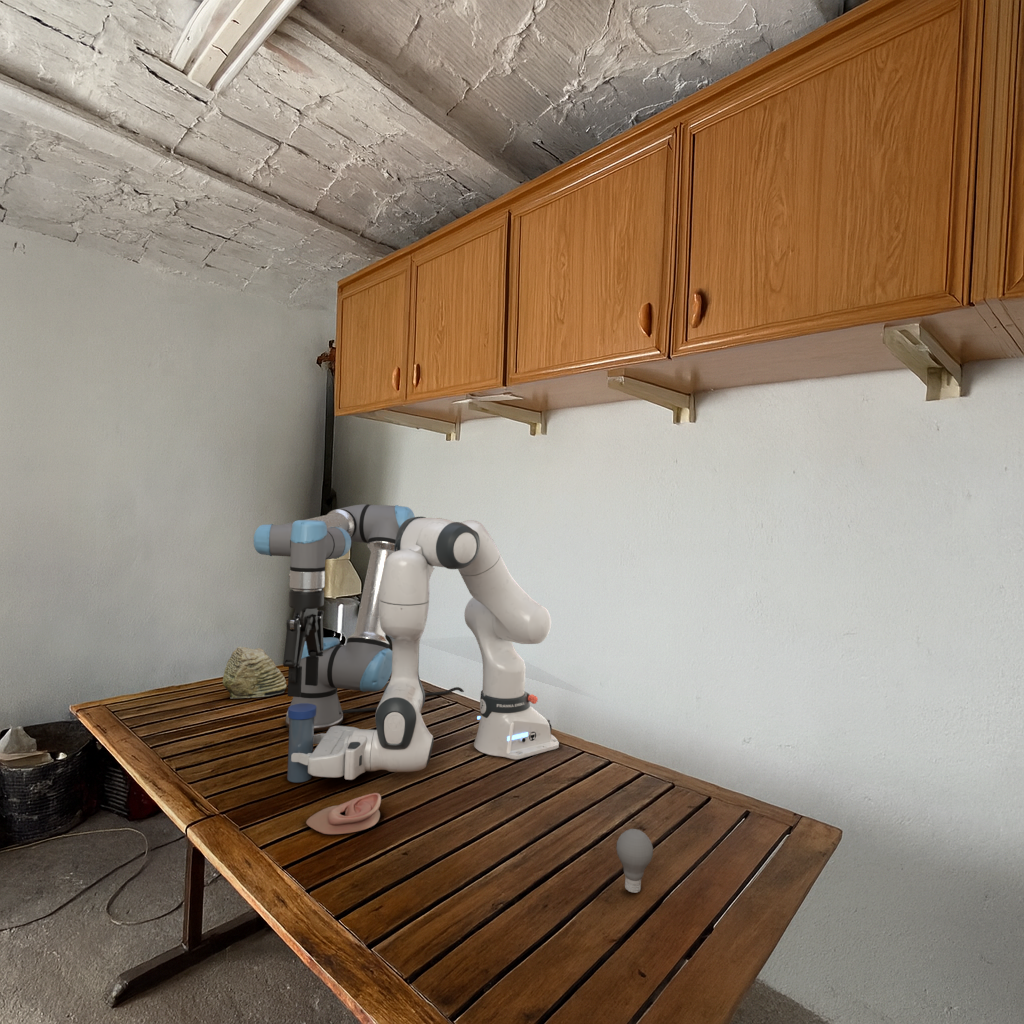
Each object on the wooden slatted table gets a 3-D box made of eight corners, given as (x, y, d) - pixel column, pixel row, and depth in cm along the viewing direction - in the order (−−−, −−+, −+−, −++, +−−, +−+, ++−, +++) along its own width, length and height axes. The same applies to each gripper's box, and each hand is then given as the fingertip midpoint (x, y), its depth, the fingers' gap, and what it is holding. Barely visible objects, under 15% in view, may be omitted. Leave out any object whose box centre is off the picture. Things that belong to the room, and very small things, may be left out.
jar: (294, 784, 139) (297, 715, 138) (282, 776, 142) (285, 709, 142) (316, 777, 143) (319, 709, 142) (304, 770, 146) (307, 704, 146)
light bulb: (610, 879, 108) (613, 822, 108) (644, 879, 109) (647, 822, 109) (619, 902, 102) (622, 840, 102) (655, 901, 103) (658, 840, 103)
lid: (296, 721, 138) (296, 713, 138) (282, 714, 142) (283, 706, 142) (321, 715, 142) (321, 708, 142) (307, 708, 146) (307, 701, 146)
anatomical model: (298, 809, 120) (327, 783, 131) (297, 830, 120) (327, 802, 131) (363, 819, 117) (388, 791, 128) (362, 840, 117) (387, 811, 128)
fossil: (218, 695, 195) (220, 647, 195) (278, 685, 208) (279, 640, 207) (228, 703, 189) (230, 653, 188) (289, 692, 201) (290, 645, 201)
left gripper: (311, 582, 152) (307, 676, 153) (267, 594, 132) (263, 703, 132) (341, 584, 151) (337, 679, 152) (302, 597, 131) (297, 706, 131)
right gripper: (369, 720, 153) (312, 718, 153) (351, 753, 133) (284, 751, 132) (368, 745, 153) (311, 744, 153) (350, 783, 133) (283, 781, 132)
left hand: (303, 690), depth 142 cm, fingers open, 8 cm apart
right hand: (298, 748), depth 142 cm, fingers open, 8 cm apart
